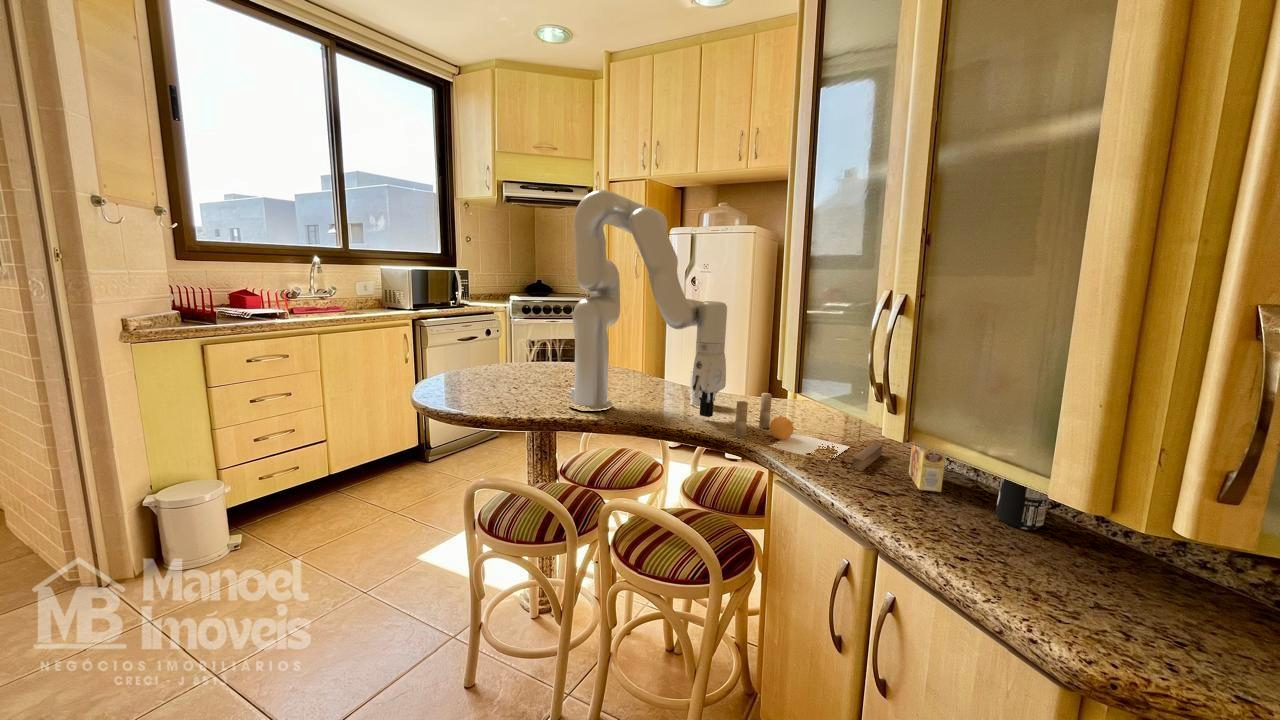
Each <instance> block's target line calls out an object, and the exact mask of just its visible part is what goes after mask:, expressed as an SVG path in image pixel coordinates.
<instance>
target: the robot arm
mask: <svg viewBox="0 0 1280 720" xmlns="http://www.w3.org/2000/svg"><path fill="white" fill-rule="evenodd" d="M573 218H574V219H573V220H574V221H573V231H574V255H575V256H574V262H575V264H574V265H575V281H576V284H577V285H578V287H579V288H580V289H581V290H583V291H586V292H588V293H589V296H588V297H584V298H582V299H581V300H579V301H578V302H577V303H576V304H575V306H574V309H573V312H572V326H573V331H574V387H571V388H570V389H569V390H568V391H567V392H566V395H567V396H571V400H572V401H574V403H575V404H577V405H580V406H585V407H589V408H590V409H603V408H608V407H611V406H612V405H613V402H612V401H611V400H609V399H608V393H609V392H608V390H609V348H610V347H609V346H610V345H609V335H608V328H610V327H612V326H614V325H615V324H616V323H617V322H618V320H619V319H620V314H621V313H620V312H621V288H620V287H621V284H620V282H621V281H620V273H619V270H618V267H617V266H616V264H615V263H614V262H613V261H612V260H611V259H608V258H607V241H606V235H605V230H604V228H605V227H604V226H605V225H608V226H613V227H616V228H618V229H620V230H622V231H625V232H628V233H630V234H631V235H632V236H633V240H634V241H635V243H636V246H637V248H638V251H639V253H640V255H641V258H642V260H643V263H644V265H645V267H646V269H647V272H648V279H649V283H650V287H651V290H652V293H653V297H654V300H655V303H656V305H657V307H658V310H659V313H660V314H661V316H662V319H663V320H664V322H665V323H666V325H668V327H670V328H672V329H675V330H684V329H686V328H690V327H696V338H695V339H696V343H695V355H694V357H695V358H694V361H693V368H692V371H693V376H692V388H693V390H694V391H695V394H694V396H695V397H699V401H700V408H699V415H700V416H701V417H706V418H711V417H713V416H714V403H715V400H716V395H717V394H718V393H719V392H721V391H722V390H724V389H725V388H726V384H727V383H726V381H727V379H726V378H727V363H726V361H727V360H726V354H725V349H726V347H725V346H726V331H727V321H728V320H727V319H728V318H727V317H728V306H727V304H726V303H725V302H723V301H716V300H715V301H713V300H711V301H710V300H707V301H705V300H704V301H702V300H701V301H700V300H697V299H696V300H695V299H690V298H686V295H685V294H684V291H683V289H682V286H681V282H680V280H679V275H678V267H679V266H678V264H679V260H678V256H677V253H676V251H675V249H674V247H673V244H672V242H671V239H670V238H669V235H668V227H669V225H668V224H669V223H668V219H667V218H666V216H665V215H664V214H663V213H662V212H661V211H660V210H657V209H656V208H653V207H650V206H646V205H643V204H641V203H639V202H636V201H633V200H631V199H629V198H627V197H624V196H622V195H620V194H618V193H616V192H614V191H610V190H607V189H598V190H594V191H591V192H589V193H588V194H587V195H585V196H584V197H583V198H582V199H581V200H580V201H579V203H578V205H577V207H576V208H575V212H574V217H573ZM712 401H713V402H712ZM612 407H613V406H612Z"/></svg>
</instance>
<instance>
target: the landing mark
mask: <svg viewBox="0 0 1280 720" xmlns="http://www.w3.org/2000/svg"><path fill="white" fill-rule="evenodd" d="M776 442H777V443H778V442H779V443H780V444H777V445H776ZM776 442H775V445H776V447H775V445H774V443H772V444H773V446H772V444H770V445H769V446H770V447H769V448H771V447H774V448H778V449H781V450H780V451H782V450H784V451H783V452H786V451H788V452H787V453H790V452H792V453H791V454H793V453H796V454H795V455H797V454H801V455H802V454H803V455H806V454H805V453H811V452H812V453H813V452H815V451H814V450H816V449H818V448H819V447H818V446H821V447H820V448H821V449H822V446H824V447H826V448H827V445H829V447H830V448H832V446H835V447H834V449H835V450H837V451H838V453H837V455H836V454H835V455H834V456H835V457H836V456H837V457H839V456H840V455H842V454H843V453H845V452H846V451H847V450H849V449H850V448H851V446H849V445H844V444H841V443H836V442H831V441H828V440H823V439H819V438H816V437H810V436H807V435H802V434H798V433H795V432H793V433H792V435H791V436H790V437H789V438H787V439H785V440H778V441H776ZM822 444H823V445H822ZM832 444H833V445H832ZM824 447H823V448H824ZM837 447H838V448H837ZM774 448H773V449H774ZM826 448H824V449H826ZM848 448H849V449H848ZM778 449H777V450H778ZM830 450H831V449H830ZM845 450H846V451H845ZM844 451H845V452H844ZM842 452H843V453H842ZM812 453H811V454H812ZM841 453H842V454H841ZM839 454H840V455H839ZM801 455H800V456H801ZM838 455H839V456H838ZM834 456H833V457H834ZM830 457H831V456H830ZM835 457H834V459H836V458H837V457H836V458H835ZM827 462H828V461H827ZM827 462H826V463H827Z"/></svg>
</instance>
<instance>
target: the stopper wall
mask: <svg viewBox="0 0 1280 720" xmlns="http://www.w3.org/2000/svg"><path fill="white" fill-rule="evenodd" d="M883 446H884V445H883V444H881V443H879V442H878V443H876V442H872V443H871V444H869V445H868V446H867V447H866V448H864V449H863V450H861V451H860V452H858V454H856V455H854V456H853V457H852V464H851V470H853V469H855V470H854V471H857V470H858V472H861V471H862V472H863V471H864V470H865V469H866V467H867V468H868V467H869V466H871V464H872V463H874V462H875V461H876V460H877V459H879V458H880V457H881V456H883V455H882V453H883Z"/></svg>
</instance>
